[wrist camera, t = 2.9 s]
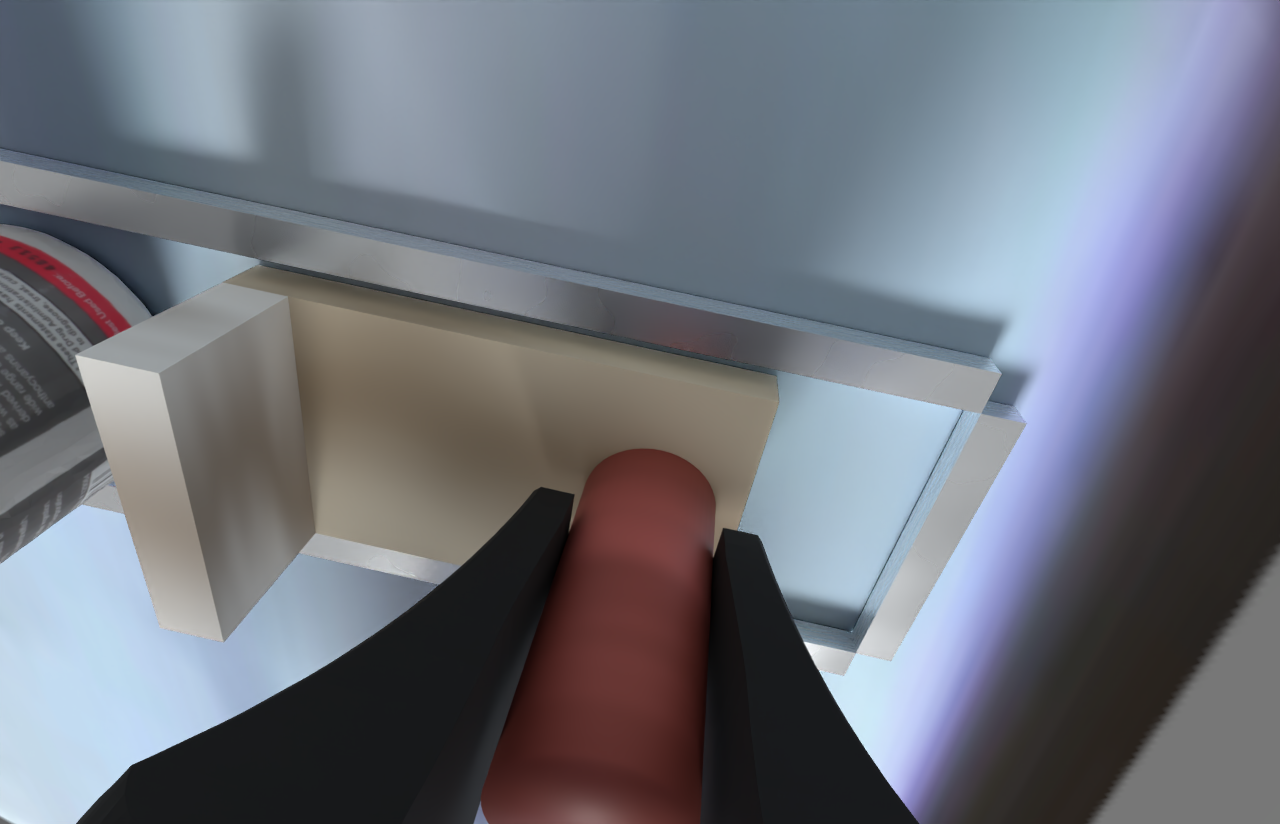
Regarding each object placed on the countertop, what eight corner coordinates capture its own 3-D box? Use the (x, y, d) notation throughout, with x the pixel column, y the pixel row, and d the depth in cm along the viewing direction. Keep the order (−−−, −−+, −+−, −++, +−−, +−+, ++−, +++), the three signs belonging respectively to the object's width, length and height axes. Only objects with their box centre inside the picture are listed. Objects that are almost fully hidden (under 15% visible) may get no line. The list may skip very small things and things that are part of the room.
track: (873, 661, 16) (878, 683, 15) (-1, 465, 16) (-25, 480, 16) (1036, 367, 11) (1049, 383, 11) (-148, 117, 12) (-188, 121, 11)
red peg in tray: (709, 587, 15) (689, 955, 9) (289, 493, 15) (0, 793, 9) (776, 375, 12) (811, 713, 6) (257, 264, 12) (-191, 485, 6)
